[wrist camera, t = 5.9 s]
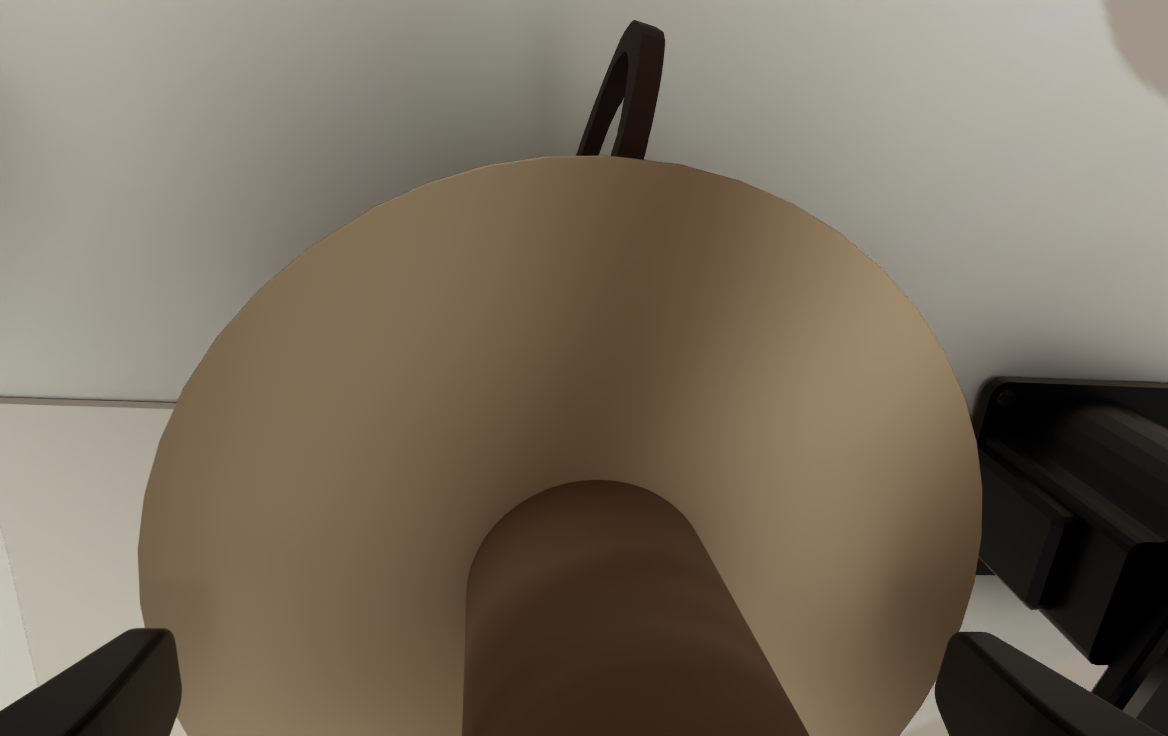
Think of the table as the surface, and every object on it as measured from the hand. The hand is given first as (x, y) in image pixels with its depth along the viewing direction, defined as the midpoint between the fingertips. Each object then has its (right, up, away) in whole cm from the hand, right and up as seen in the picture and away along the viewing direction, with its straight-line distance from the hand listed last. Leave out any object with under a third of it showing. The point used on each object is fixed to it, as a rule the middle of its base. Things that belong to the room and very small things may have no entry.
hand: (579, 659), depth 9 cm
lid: (0, +1, +2) cm, 2 cm away
